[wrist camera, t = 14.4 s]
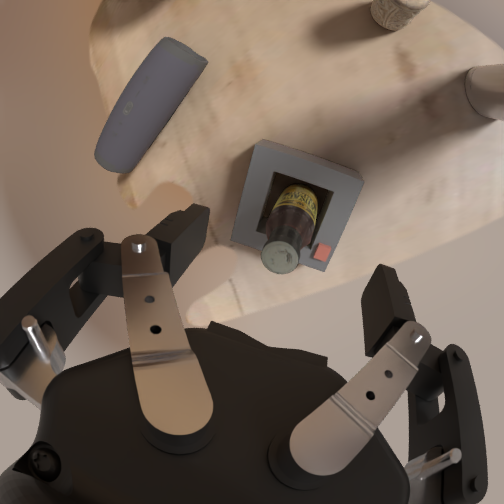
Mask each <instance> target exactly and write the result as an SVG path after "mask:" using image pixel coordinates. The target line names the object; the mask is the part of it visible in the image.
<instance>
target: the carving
mask: <svg viewBox="0 0 504 504" xmlns="http://www.w3.org/2000/svg"><path fill="white" fill-rule="evenodd" d="M429 3H430V0H373V2H372V5H371V14H372V17H373V18H374V20H375V21H376V22H377V23H378V24H379V25H381V26H382V27H384V28H387V29H389V30H399V29H402V28H404V27H406V26H407V25H408V24H409V23H410V22H411V21H412V19H413V18H414V17H415V16H416V15H417V14H418V13H419V12H420V11H421V10H423V9H425V8H426V7H427V6H428V5H429Z"/></svg>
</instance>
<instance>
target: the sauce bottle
mask: <svg viewBox="0 0 504 504" xmlns="http://www.w3.org/2000/svg"><path fill="white" fill-rule="evenodd" d="M317 208H318V200H317V197H316V194H315V192H314V191H313V190H312V189H311V188H310V187H309V186H307V185H305V184H292V185H291V186H289V187H287V188H286V189H284V191H283V192H282V193H281V195H280V197H279V199H278V200H277V202H276V204H275V206H274V207H273V209H272V211H271V213H270V216H269V218H268V220H267V222H266V235H267V239H268V241H267V242H266V243H265V244H264V246H263V249H262V252H261V259H262V262H263V264H264V266H265V267H266V268H267V269H268V270H269V271H271V272H274V273H277V274H286V273H289V272H291V271H293V270H294V269H295V268H296V267H297V265H298V262H299V259H300V255H301V254H300V250H301V249H302V248H303V247H305V246H306V245H308V244H309V243H310V242H311V238H312V234H313V232H314V228H315V222H316V215H317Z"/></svg>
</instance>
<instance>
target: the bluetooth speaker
mask: <svg viewBox="0 0 504 504" xmlns="http://www.w3.org/2000/svg"><path fill="white" fill-rule="evenodd" d="M207 64H208V61H207V60H206V59H205V58H204V57H202V56H200V55H198V54H197V53H196V52H194V51H193V50H192V49H191V48H189V47H188V46H186V45H185V44H183V43H181V42H179V41H177V40H175V39H173V38H170V37H164V38H163V39H161V41H160V42H159V43H158V44H157V45H156V46H155V47H154V48H153V49H152V50H151V52H150V53H149V54H148V56H147V57H146V58H145V60H144V61H143V62H142V64H141V65H140V66H139V68H138V69H137V71H136V72H135V73H134V75H133V76H132V78H131V79H130V81H129V82H128V84H127V86H126V87H125V89H124V90H123V92H122V94H121V96H120V97H119V99H118V101H117V102H116V104H115V106H114V108H113V110H112V112H111V114H110V116H109V118H108V120H107V122H106V124H105V126H104V128H103V130H102V133H101V135H100V137H99V140H98V142H97V145H96V149H95V153H94V155H95V159H96V161H97V162H98V163H99V164H100V165H101V166H102V167H103V168H105V169H106V170H108V171H111V172H116V173H129V172H131V171H132V170H133V169H134V167H135V166H136V165H137V164H138V162H139V161H140V160H141V158H142V157H143V155H144V154H145V152H146V151H147V149H148V148H149V147H150V146H151V144H152V143H153V142H154V140H155V139H156V137H157V136H158V134H159V133H160V132H161V130H162V129H163V128H164V126H165V125H166V124H167V122H168V121H169V119H170V118H171V117H172V115H173V114H174V112H175V111H176V109H177V107H178V106H179V105H180V103H181V102H182V100H183V99H184V97H185V96H186V95H187V93H188V92H189V90H190V88H191V87H192V86H193V84H194V83H195V81H196V80H197V79H198V77H199V76H200V75H201V73H202V72H203V70H204V68H205V67H206V65H207Z"/></svg>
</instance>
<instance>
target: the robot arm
mask: <svg viewBox="0 0 504 504" xmlns="http://www.w3.org/2000/svg"><path fill="white" fill-rule="evenodd" d="M465 89H466V94H467V97H468V99H469V101H470V103H471V105H472V106H473V108H474V109H475V110H476V111H477V112H478V113H479V114H481V115H482V116H484V117H488V118H493V119H497V120H501V121H504V64H496V65H486V66H477V67H474V68H472V69H471V70H469V72H468V73H467V76H466V80H465ZM209 214H210V209H209V208H208V207H205V206H201V205H198V204H195V203H193V204H192V205H191V206H190V207H188V208H187V209H186V210H185V211H181V210H179V211H177V212H173V213H171V214H169V215H168V216H167V217H166V218H165V219H163V220H162V221H161V222H160V224H157V225H156V226H155V227H154V228H153V229H151V230H150V231H149V232H148V233H147V234H146V235H142V234H136V235H131V236H128V237H126V238H125V239H124V240H123V241H122V243H121V244H118V243H111V242H104V235H103V232H102V231H100V230H98V229H96V228H84V229H81V230H78V231H76V232H75V233H74V234H73V235H71V236H70V237H68V238H67V239H66V240H65V241H63V242H62V243H61V244H60V245H59V246H57V247H56V248H55V249H54V250H53V251H51V252H50V253H49V254H48V255H47V256H45V257H44V258H43V259H42V260H41V261H40V262H38V263H37V264H36V265H35V266H34V267H33V268H32V269H31V270H30V271H29V272H27V273H26V274H25V275H24V276H23V277H22V278H21V279H20V280H19V281H18V282H17V283H16V284H15V285H14V286H13V287H12V288H10V289H9V290H8V291H7V292H6V293H5V294H4V295H3V296H2V297H1V298H0V383H1V384H2V385H3V386H5V387H6V388H7V390H8V391H9V392H10V393H11V394H12V395H13V396H14V397H15V398H17V399H19V400H28V401H30V402H31V403H32V404H33V405H35V406H36V407H37V408H39V409H40V410H41V414H40V422H39V427H38V431H37V434H36V438H35V440H34V442H33V444H32V446H31V447H30V448H29V450H28V451H27V452H26V453H25V454H24V455H23V456H22V457H20V458H19V459H18V460H17V461H16V462H15V463H13V464H12V465H11V466H10V467H8V468H7V469H6V470H5V471H4V472H3V473H2V474H1V476H0V504H476V503H479V502H480V501H481V500H482V499H483V497H484V496H485V494H486V491H487V486H488V472H487V456H486V445H485V437H484V429H483V422H482V416H481V410H480V405H479V400H478V395H477V390H476V386H475V382H474V378H473V373H472V370H471V366H470V362H469V359H468V356H467V355H466V353H465V352H464V351H463V349H461V348H460V347H459V346H457V345H455V344H450V345H448V346H447V347H446V348H445V350H444V351H442V350H440V349H439V348H437V347H435V346H433V345H432V344H431V336H430V334H429V332H428V331H427V330H426V329H425V328H424V327H423V326H422V325H421V324H419V323H417V322H416V319H415V316H414V312H413V309H412V306H411V302H410V300H409V296H408V293H407V290H406V288H405V287H404V286H403V284H402V283H401V282H399V280H398V277H397V274H396V271H395V269H394V268H391V267H388V266H386V265H383V264H379V265H378V266H377V268H376V269H375V271H374V273H373V275H372V277H371V279H370V281H369V282H368V284H367V286H366V288H365V290H364V292H363V295H362V298H361V307H362V317H363V329H364V341H365V356H368V357H372V359H371V360H370V361H369V362H368V363H367V364H366V365H365V366H364V367H363V368H362V369H361V370H360V371H359V372H358V373H357V374H356V375H355V376H354V377H353V378H352V379H351V380H350V381H349V382H347V381H346V380H345V379H344V378H343V377H342V376H341V375H339V374H338V373H337V372H336V371H334V370H332V369H331V368H329V367H327V360H328V358H327V357H325V356H321V355H318V354H314V353H310V352H307V351H303V350H299V349H287V348H276V347H268V346H266V345H264V344H262V343H261V342H259V341H257V340H255V339H254V338H252V337H250V336H248V335H246V334H245V333H243V332H241V331H239V330H236V329H233V328H230V327H228V326H225V325H222V324H219V323H216V322H213V321H211V322H210V324H209V326H208V328H207V329H205V328H186V329H184V327H183V323H182V320H181V317H180V313H179V310H178V307H177V303H176V300H175V296H174V293H173V289H172V288H173V286H174V285H175V284H176V282H177V281H178V279H179V278H180V277H181V276H182V274H183V273H184V272H185V270H186V269H187V268H188V266H189V265H190V264H191V263H192V261H193V260H194V259H195V257H196V256H197V255H198V253H199V252H200V251H201V249H202V248H203V245H204V242H205V239H206V232H207V226H208V220H209ZM77 277H78V281H77V282H76V283H75V284H74V285H73V287H71V288H70V285H71V284H72V282H73V281H74V280H75V279H76V278H77ZM107 295H110V296H116V297H123V298H124V304H125V313H126V322H127V330H128V337H129V344H130V347H129V348H127V349H124V350H121V351H118V352H116V353H113V354H110V355H107V356H104V357H101V358H98V359H95V360H92V361H89V362H86V363H84V364H81V365H77V366H74V367H71V368H69V369H66V370H64V371H62V370H63V367H64V365H65V360H66V358H65V353H64V351H65V350H66V348H67V347H68V346H69V344H70V343H71V342H72V340H73V339H74V337H75V336H76V335H77V334H78V332H79V331H80V330H81V328H82V327H83V326H84V324H85V323H86V322H87V321H88V319H89V318H90V317H91V315H92V314H93V313H94V312H95V310H96V309H97V308H98V307H99V305H100V304H101V303H102V302H103V300H104V299H105V298H106V297H107ZM405 390H407V391H408V407H409V408H408V409H409V458H408V463H407V464H406V466H405V467H403V466H402V464H401V463H400V461H399V460H398V458H397V457H396V455H395V454H394V452H393V451H392V449H391V448H390V446H389V444H388V443H387V441H386V440H385V438H384V437H383V435H382V433H381V432H380V431H379V429H378V426H379V425H380V423H381V422H382V421H383V420H384V418H385V417H386V416H387V414H388V413H389V412H390V410H391V409H392V408H393V406H394V405H395V404H396V402H397V401H398V400H399V398H400V397H401V395H402V394H403V392H404V391H405ZM442 392H444V394H445V406H444V408H443V410H442V411H441V412H440V413H439V405H438V396H439V395H440V394H441V393H442Z"/></svg>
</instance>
